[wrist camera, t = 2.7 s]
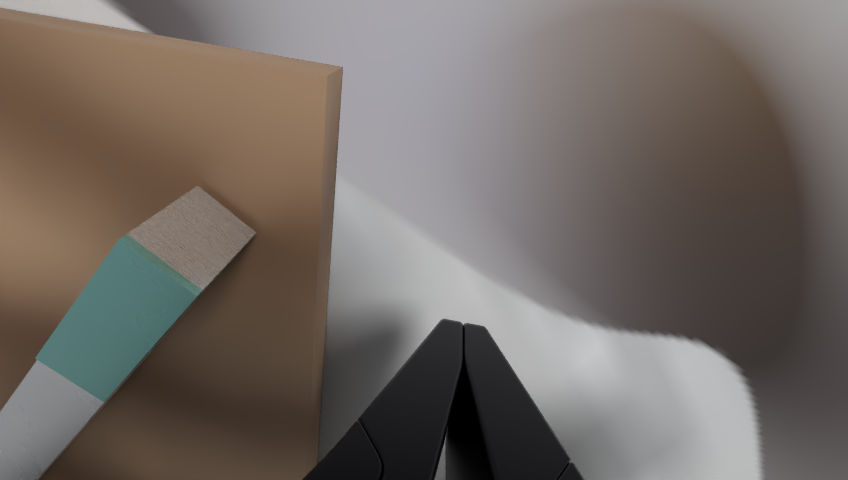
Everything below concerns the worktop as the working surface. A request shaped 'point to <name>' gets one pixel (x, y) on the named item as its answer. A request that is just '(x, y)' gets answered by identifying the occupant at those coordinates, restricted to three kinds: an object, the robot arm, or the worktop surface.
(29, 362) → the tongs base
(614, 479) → the worktop surface
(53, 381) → the hinged jaw
